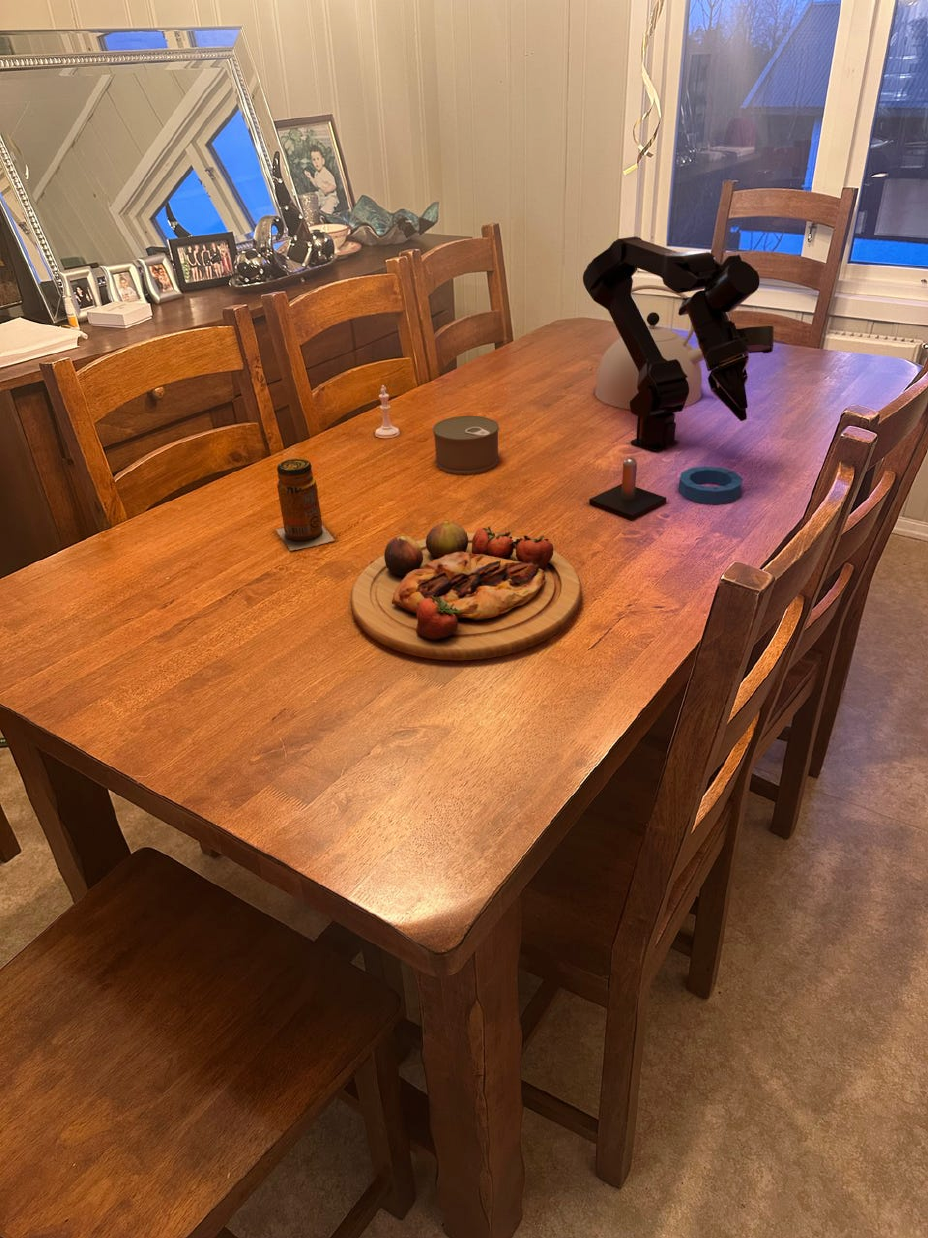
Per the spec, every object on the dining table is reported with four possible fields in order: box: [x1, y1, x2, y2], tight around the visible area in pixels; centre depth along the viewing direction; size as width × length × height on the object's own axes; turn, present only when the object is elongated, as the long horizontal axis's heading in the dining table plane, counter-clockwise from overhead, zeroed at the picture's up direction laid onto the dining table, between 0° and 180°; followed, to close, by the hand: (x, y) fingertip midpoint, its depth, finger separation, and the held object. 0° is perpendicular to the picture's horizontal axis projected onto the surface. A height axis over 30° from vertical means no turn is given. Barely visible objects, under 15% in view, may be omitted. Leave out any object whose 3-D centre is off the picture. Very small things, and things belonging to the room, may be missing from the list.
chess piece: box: [374, 384, 401, 439], centre depth 174 cm, size 5×5×10 cm
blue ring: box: [677, 465, 743, 505], centre depth 147 cm, size 10×10×2 cm
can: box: [432, 415, 500, 476], centre depth 161 cm, size 12×12×7 cm
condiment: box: [275, 458, 336, 551], centre depth 137 cm, size 7×8×12 cm
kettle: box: [595, 284, 704, 411], centre depth 184 cm, size 25×23×23 cm
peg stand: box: [588, 456, 667, 521], centre depth 142 cm, size 9×9×8 cm
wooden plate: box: [349, 520, 583, 661], centre depth 119 cm, size 32×32×8 cm
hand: (744, 414), depth 142 cm, fingers open, 9 cm apart
